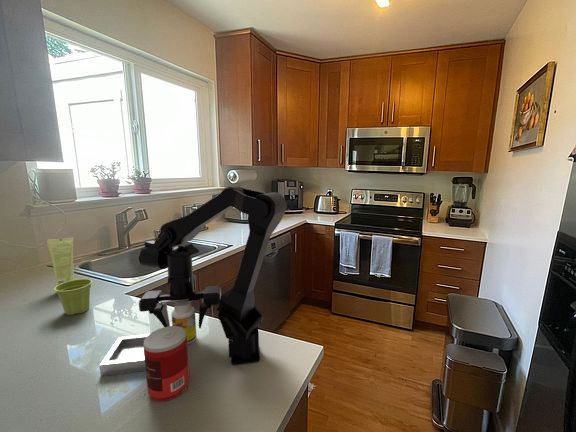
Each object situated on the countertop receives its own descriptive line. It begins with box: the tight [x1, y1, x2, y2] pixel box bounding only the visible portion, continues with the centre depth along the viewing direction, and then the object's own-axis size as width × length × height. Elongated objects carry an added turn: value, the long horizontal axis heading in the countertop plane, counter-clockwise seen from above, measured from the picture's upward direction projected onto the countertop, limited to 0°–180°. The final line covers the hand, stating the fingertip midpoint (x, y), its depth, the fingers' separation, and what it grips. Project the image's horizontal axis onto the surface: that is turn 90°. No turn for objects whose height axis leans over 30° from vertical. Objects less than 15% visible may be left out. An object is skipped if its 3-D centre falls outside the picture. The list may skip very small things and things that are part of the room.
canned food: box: [143, 325, 190, 402], centre depth 56 cm, size 8×8×11 cm
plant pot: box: [53, 278, 93, 316], centre depth 87 cm, size 9×9×9 cm
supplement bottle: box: [171, 301, 197, 345], centre depth 72 cm, size 6×6×10 cm
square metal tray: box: [99, 333, 150, 377], centre depth 66 cm, size 11×10×3 cm
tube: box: [46, 237, 75, 286], centre depth 102 cm, size 6×5×20 cm
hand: (184, 329), depth 72 cm, fingers open, 7 cm apart
